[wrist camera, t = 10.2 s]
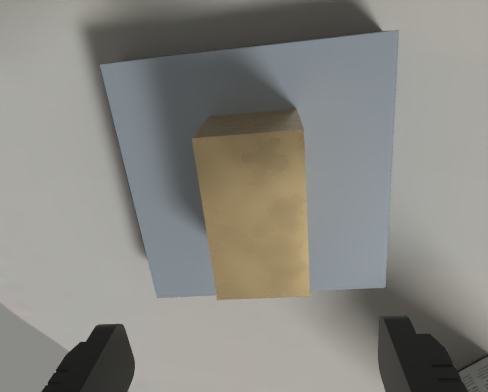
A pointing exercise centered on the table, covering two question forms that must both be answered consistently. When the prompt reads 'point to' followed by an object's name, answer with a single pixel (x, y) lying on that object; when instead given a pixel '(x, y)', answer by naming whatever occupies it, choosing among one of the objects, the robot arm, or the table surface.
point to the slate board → (259, 100)
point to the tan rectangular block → (255, 203)
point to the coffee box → (476, 376)
